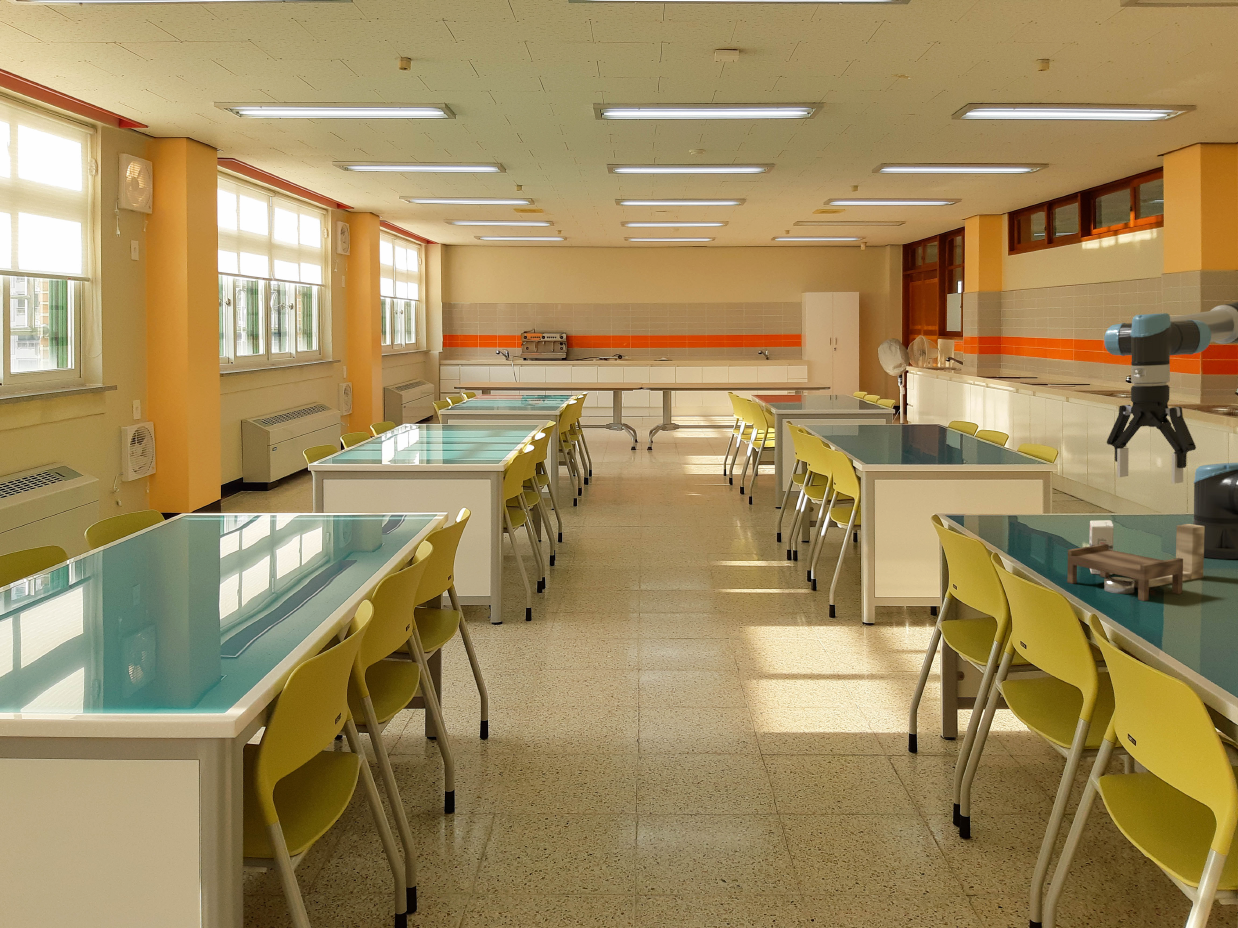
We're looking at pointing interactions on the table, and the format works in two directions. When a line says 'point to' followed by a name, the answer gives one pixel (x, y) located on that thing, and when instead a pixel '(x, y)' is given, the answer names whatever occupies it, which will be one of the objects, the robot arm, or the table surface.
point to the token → (1119, 585)
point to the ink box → (1101, 536)
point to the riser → (1125, 567)
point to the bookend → (1186, 554)
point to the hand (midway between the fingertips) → (1149, 479)
